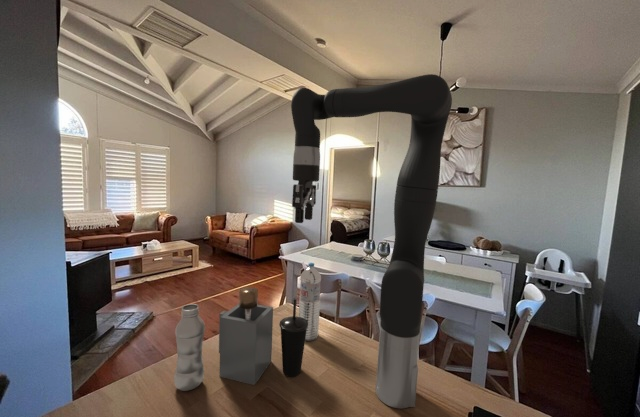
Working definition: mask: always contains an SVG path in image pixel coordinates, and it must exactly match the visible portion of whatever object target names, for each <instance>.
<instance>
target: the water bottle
mask: <svg viewBox="0 0 640 417" xmlns="http://www.w3.org/2000/svg"><path fill="white" fill-rule="evenodd" d="M301 272H302V273H301V274H300V276H299V278H300V279H299V280H300V286H299V288H300V289H299V302H298V304H299V305H298V317H302V318H304V319H306V320H307V321H308V327H307V330H306V337H305V342H312V341H316V340H317V339H318V337H319V327H320V326H319V325H320V308H321V281H322V275H321V273H320V272H319V270H318V269H316V268H315V263H314V262H309V263H308V267H307V268H305V269H304V270H303V271H301Z"/></svg>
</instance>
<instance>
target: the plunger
mask: <svg viewBox="0 0 640 417" xmlns="http://www.w3.org/2000/svg"><path fill="white" fill-rule="evenodd" d="M238 293H239V294H238V304H239V307H240V308H242V309H245V319H246V320H251V309H252V308H255V307H257V305H259V304H258V302H259V301H258V298H259V290H258V288H257V287H251V286H250V287H249V286H247V287H246V286H245V287H243V288H240V289H239V290H238Z"/></svg>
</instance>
